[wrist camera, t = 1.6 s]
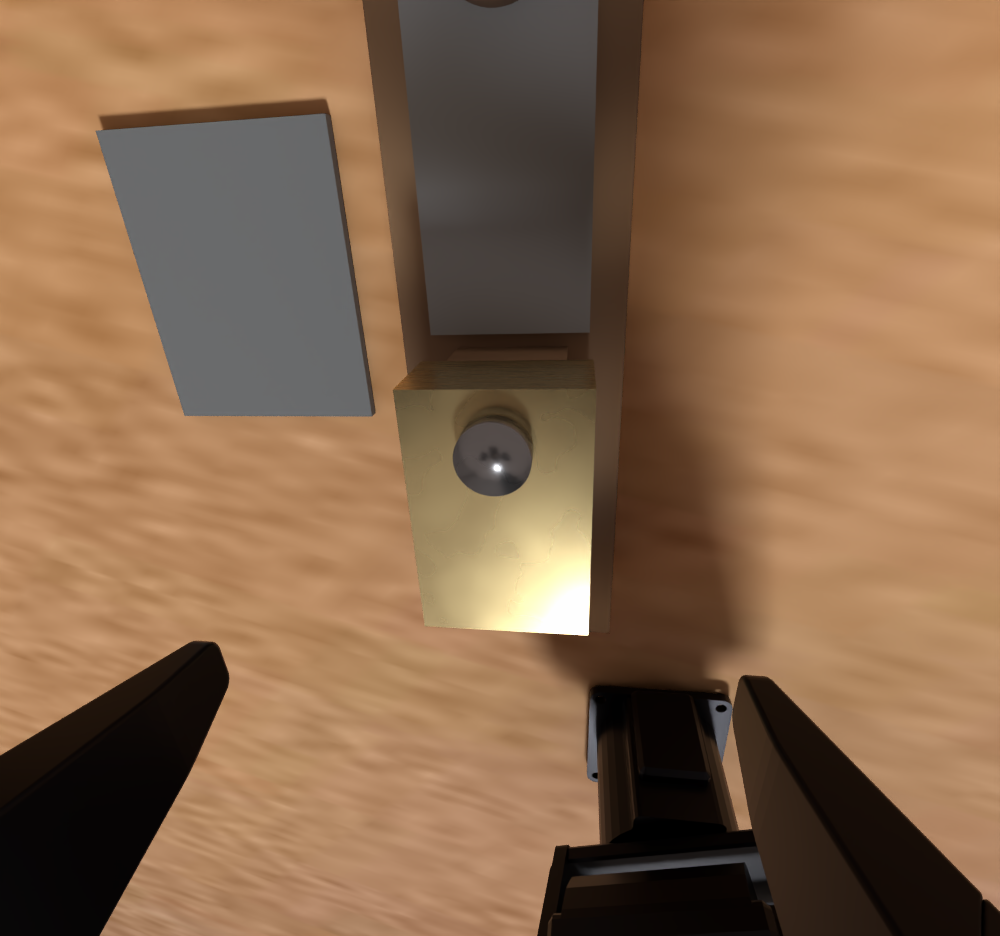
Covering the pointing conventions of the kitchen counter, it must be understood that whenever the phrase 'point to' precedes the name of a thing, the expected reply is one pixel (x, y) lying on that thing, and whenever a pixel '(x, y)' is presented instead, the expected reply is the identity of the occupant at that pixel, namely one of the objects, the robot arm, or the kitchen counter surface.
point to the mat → (246, 263)
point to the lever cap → (501, 491)
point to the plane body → (515, 194)
